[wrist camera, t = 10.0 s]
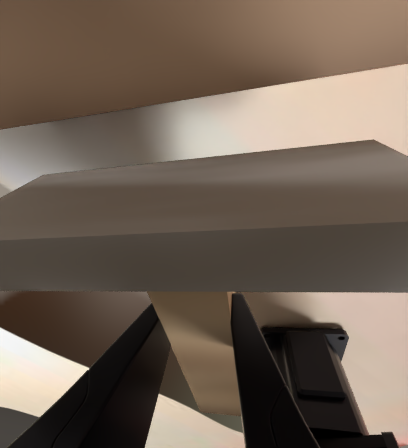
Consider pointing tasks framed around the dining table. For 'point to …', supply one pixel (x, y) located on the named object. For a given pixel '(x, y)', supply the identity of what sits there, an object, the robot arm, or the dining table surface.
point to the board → (180, 50)
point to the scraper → (214, 239)
